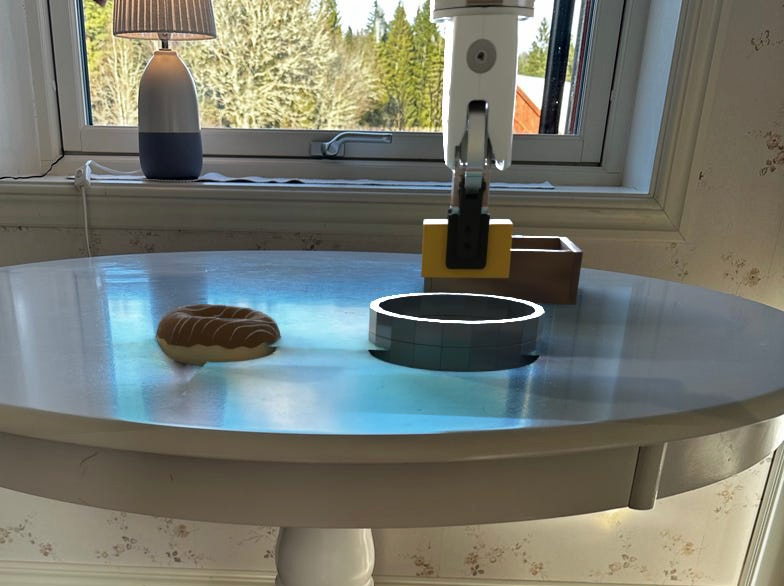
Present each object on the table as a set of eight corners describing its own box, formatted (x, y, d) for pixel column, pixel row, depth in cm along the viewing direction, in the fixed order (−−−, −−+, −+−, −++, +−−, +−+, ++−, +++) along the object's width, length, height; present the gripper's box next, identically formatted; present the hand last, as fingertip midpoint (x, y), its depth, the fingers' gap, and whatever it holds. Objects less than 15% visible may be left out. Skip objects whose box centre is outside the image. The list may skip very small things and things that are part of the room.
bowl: (529, 346, 88) (535, 295, 86) (545, 384, 75) (553, 325, 73) (372, 341, 89) (375, 290, 87) (363, 378, 77) (365, 319, 74)
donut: (152, 347, 86) (149, 301, 84) (268, 343, 88) (267, 298, 86) (162, 375, 77) (159, 323, 75) (291, 370, 79) (291, 319, 77)
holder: (558, 300, 110) (566, 237, 107) (573, 322, 98) (583, 251, 95) (422, 296, 112) (426, 234, 109) (421, 317, 100) (426, 248, 97)
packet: (505, 271, 80) (509, 219, 78) (508, 278, 77) (513, 224, 75) (421, 270, 81) (423, 219, 79) (421, 277, 77) (423, 223, 75)
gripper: (547, -18, 62) (518, 280, 71) (525, 7, 76) (504, 252, 85) (431, -16, 63) (417, 279, 71) (431, 9, 77) (419, 251, 86)
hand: (464, 262), depth 78 cm, fingers closed on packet, 4 cm apart
